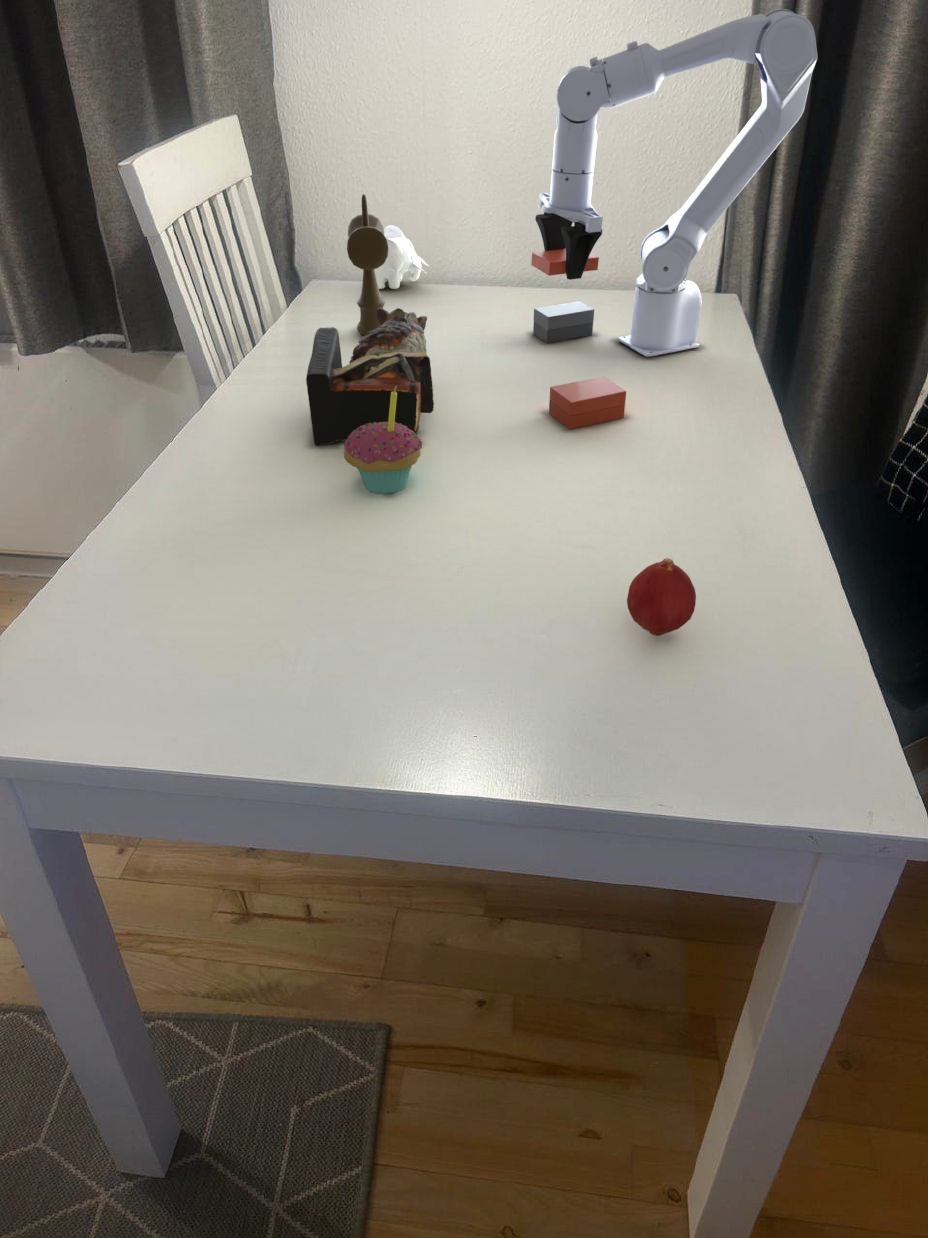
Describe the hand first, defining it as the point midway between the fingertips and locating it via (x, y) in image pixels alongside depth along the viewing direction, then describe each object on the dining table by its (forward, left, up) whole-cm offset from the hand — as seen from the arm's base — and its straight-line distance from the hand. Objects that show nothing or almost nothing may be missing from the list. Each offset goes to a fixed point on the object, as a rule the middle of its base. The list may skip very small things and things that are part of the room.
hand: (563, 272), depth 132 cm
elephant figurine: (+12, -38, -11) cm, 41 cm away
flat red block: (0, 0, +1) cm, 1 cm away
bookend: (+33, +9, -11) cm, 36 cm away
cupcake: (+40, +30, -11) cm, 51 cm away
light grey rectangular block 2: (-2, -3, -8) cm, 9 cm away
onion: (+28, +66, -11) cm, 73 cm away
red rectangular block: (+10, +24, -10) cm, 28 cm away
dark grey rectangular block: (-2, -3, -10) cm, 11 cm away
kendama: (+24, -17, -11) cm, 31 cm away
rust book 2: (+10, +24, -9) cm, 28 cm away
